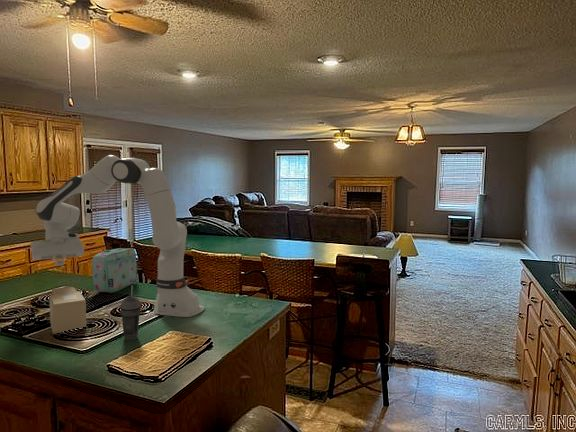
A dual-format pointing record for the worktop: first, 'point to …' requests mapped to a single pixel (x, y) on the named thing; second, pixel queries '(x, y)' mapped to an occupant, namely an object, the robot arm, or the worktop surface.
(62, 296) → the lid
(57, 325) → the mailer box
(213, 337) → the worktop surface
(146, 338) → the worktop surface
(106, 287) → the lunch box
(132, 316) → the beverage cup
